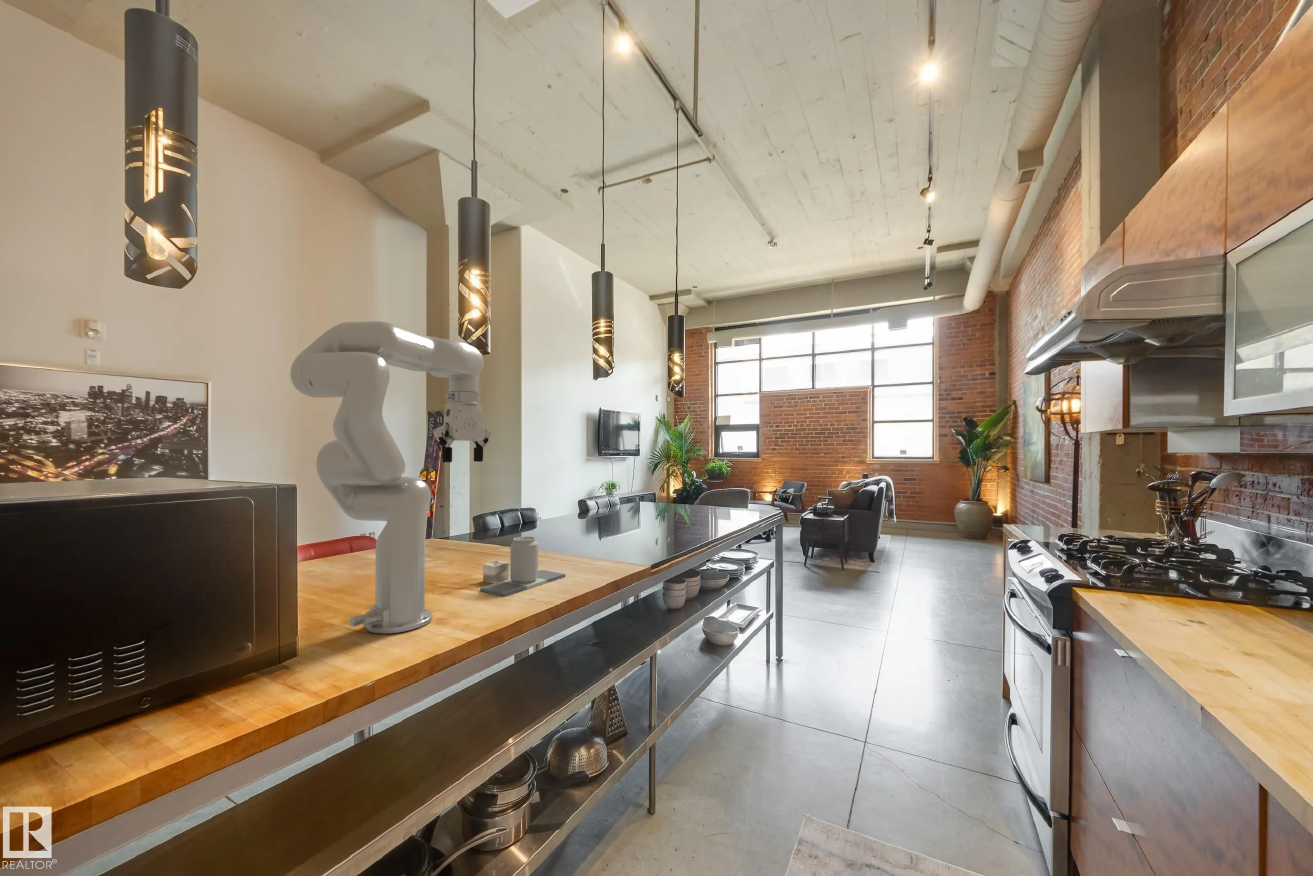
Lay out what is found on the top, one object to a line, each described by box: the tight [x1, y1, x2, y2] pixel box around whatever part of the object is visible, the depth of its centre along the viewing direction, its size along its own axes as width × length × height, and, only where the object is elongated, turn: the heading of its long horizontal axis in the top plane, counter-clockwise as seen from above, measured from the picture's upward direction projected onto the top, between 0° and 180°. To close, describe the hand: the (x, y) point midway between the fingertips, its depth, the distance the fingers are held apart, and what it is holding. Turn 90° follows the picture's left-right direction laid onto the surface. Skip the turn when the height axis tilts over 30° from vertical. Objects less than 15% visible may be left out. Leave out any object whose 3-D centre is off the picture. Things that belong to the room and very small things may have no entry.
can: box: [509, 536, 539, 584], centre depth 135 cm, size 8×8×12 cm
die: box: [482, 560, 510, 584], centre depth 138 cm, size 5×5×5 cm
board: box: [479, 569, 566, 597], centre depth 135 cm, size 22×10×1 cm, turn 148°
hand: (463, 461), depth 131 cm, fingers open, 9 cm apart
